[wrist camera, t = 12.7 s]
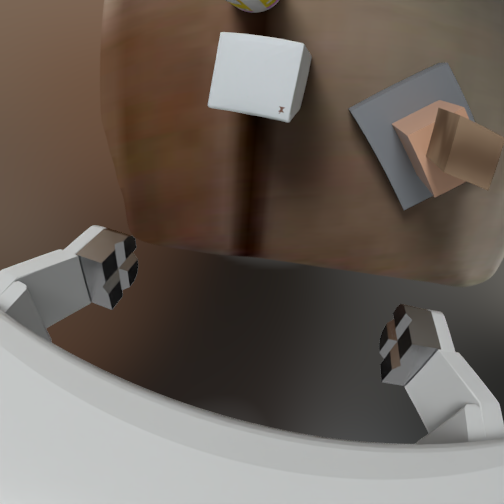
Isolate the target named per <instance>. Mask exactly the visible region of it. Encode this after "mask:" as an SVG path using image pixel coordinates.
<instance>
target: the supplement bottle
mask: <svg viewBox="0 0 504 504" xmlns="http://www.w3.org/2000/svg"><path fill="white" fill-rule="evenodd" d="M226 1H227V2H229V3H231V4H232V5H233V6H235V7H237V8H238V9H240V10H242V11H246V12H251V13H257V12H263V11H266V10H268V9H270V8H272V7H273V6H275V5H276V4H277V3H278V2H279V0H226Z"/></svg>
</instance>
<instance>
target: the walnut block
mask: <svg viewBox="0 0 504 504" xmlns="http://www.w3.org/2000/svg"><path fill="white" fill-rule="evenodd" d="M503 144H504V137H502V136H500V135H498V134H496V133H495V132H493V131H491V130H489V129H487V128H485V127H483V126H481V125H479V124H477V123H475V122H473V121H471V120H469V119H467V118H465V117H463V116H460V115H458V114H455V113H453V112H450V111H447V110H444V109H441V108H438V112H437V116H436V120H435V124H434V128H433V132H432V135H431V139H430V143H429V146H428V150H427V153H426V156H427V157H428V158H429V159H430V160H431V161H432V162H433V163H434V164H435V165H436V166H438V167H439V168H440V169H441V170H442V171H443V172H444V173H447V174H449V175H452V176H454V177H457V178H459V179H462V180H464V181H467V182H469V183H472V184H474V185H476V186H479V187H481V188H483V189H486V190H489V187H490V184H491V182H492V179H493V176H494V173H495V170H496V167H497V164H498V161H499V158H500V154H501V151H502V148H503Z"/></svg>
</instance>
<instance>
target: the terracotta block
mask: <svg viewBox="0 0 504 504" xmlns="http://www.w3.org/2000/svg"><path fill="white" fill-rule="evenodd" d="M438 108H441V109H444V110H447V111H450V112H453V113H455V114H458V115H460V116H463V117H465V118H467V119H469V117H468V115H467V112H466V110H465V108H464V107H462V106H459V105H455V104H452V103H449V102H445V101H441V100H438V101H436V102H434V103H432V104H430V105H428V106H426V107H424V108H422V109H420V110H418V111H416V112H414V113H412V114H410V115H408V116H406V117H404V118H402V119H400V120H398V121H396V122H394V123H392V126H393V127H394V129H395V131H396V133H397V135H398V137H399V139H400V141H401V143H402V145H403V147H404V149H405V151H406V153H407V155H408V157H409V159H410V161H411V163H412V165H413V167H414V170H415V172H416V174H417V176H418V177H419V178H420V179H421V181H422V182H423V183H424V184H425V186H426V187H427V188H428V189H429V191H430V192H431V193H432V195H433V196H434V197H437V196H439V195H441V194H443V193H445V192H447V191H449V190H451V189H453V188H455V187H457V186H459V185H461V184H463V183H465V182H467V181H464V180H462V179H459V178H457V177H454V176H452V175H449V174H447V173H444V172H443V171H442V170H441V169H440V168H439V167H438V166H436V165H435V164H434V163H433V162H432V161H431V160H430V159H429V158H428V157H427V156H426V153H427V150H428V146H429V143H430V139H431V135H432V132H433V128H434V124H435V120H436V116H437V112H438Z"/></svg>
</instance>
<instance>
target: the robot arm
mask: <svg viewBox="0 0 504 504" xmlns="http://www.w3.org/2000/svg"><path fill="white" fill-rule="evenodd" d="M135 249H136V241H135V238H134V237H133V236H131V235H128V234H125V233H122V232H118V231H115V230H112V229H107V228H105V227H101V226H98V225H93V226H91V227H90V228H89V229H87V230H86V231H85V232H84V233H83V234H81V235H80V236H79V237H78V238H77V239H76V240H75V241H73V242H72V243H71V244H70V245H69V246H68V247H66V248H65V249H64V250H61V249H59V250H56V251H53V252H50V253H47V254H45V255H42V256H39V257H36V258H33V259H30V260H28V261H25V262H22V263H19V264H16V265H14V266H11V267H9V268H6V269H3V270H1V271H0V504H504V424H503V419H502V414H501V409H500V405H499V403H498V401H497V400H496V399H495V397H494V396H493V395H492V393H491V392H490V391H489V390H488V388H487V387H486V386H485V384H484V383H483V382H482V380H481V379H480V378H479V377H478V375H477V374H476V373H475V372H474V371H473V369H472V368H471V367H470V366H469V364H468V363H467V362H466V361H465V360H464V358H463V357H462V356H461V355H460V354H459V353H456V352H455V350H454V346H453V343H452V339H451V336H450V332H449V329H448V326H447V323H446V320H445V317H444V315H443V313H442V312H438V311H433V310H426V309H421V308H417V307H412V306H408V305H404V304H400V305H399V306H398V307H396V309H395V311H394V312H393V316H394V319H393V320H392V321H390V322H388V323H387V324H386V325H385V327H384V329H383V330H382V333H381V336H380V341H379V353H380V354H381V355H382V357H383V358H384V360H383V361H382V362H381V364H380V368H381V382H383V383H389V384H396V385H403V386H405V389H406V391H407V393H408V395H409V396H410V398H411V400H412V402H413V404H414V405H415V407H416V409H417V411H418V413H419V415H420V417H421V419H422V421H423V423H424V424H425V427H426V429H427V431H428V433H429V434H428V435H426V436H425V437H423V438H422V439H420V440H419V441H418V442H417V443H416V444H390V443H389V444H388V443H373V442H360V441H351V440H342V439H334V438H327V437H320V436H312V435H307V434H301V433H296V432H291V431H285V430H281V429H276V428H271V427H267V426H262V425H258V424H254V423H250V422H245V421H242V420H238V419H234V418H230V417H227V416H224V415H220V414H217V413H213V412H210V411H207V410H204V409H200V408H197V407H194V406H191V405H188V404H185V403H182V402H179V401H177V400H174V399H171V398H168V397H165V396H163V395H160V394H158V393H155V392H153V391H150V390H148V389H145V388H143V387H140V386H138V385H135V384H133V383H131V382H128V381H126V380H124V379H122V378H119V377H117V376H115V375H113V374H110V373H108V372H106V371H104V370H102V369H100V368H98V367H96V366H94V365H92V364H90V363H88V362H86V361H84V360H82V359H80V358H78V357H76V356H74V355H73V354H71V353H69V352H67V351H65V350H64V349H62V348H60V347H58V346H56V345H55V344H53V343H51V338H50V336H49V334H48V332H47V330H46V328H47V327H49V326H51V325H53V324H54V323H56V322H58V321H60V320H61V319H63V318H65V317H67V316H69V315H70V314H72V313H74V312H76V311H78V310H79V309H81V308H83V307H85V306H87V305H88V304H90V303H91V302H93V303H95V304H98V305H101V306H104V307H106V308H109V309H113V308H114V306H115V305H116V304H117V303H118V302H119V300H120V299H121V298H122V296H123V293H122V290H123V289H126V288H128V287H130V286H131V284H132V283H133V282H134V280H135V278H136V275H137V272H138V259H137V258H136V256H135V254H134V253H133V251H134V250H135Z"/></svg>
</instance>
